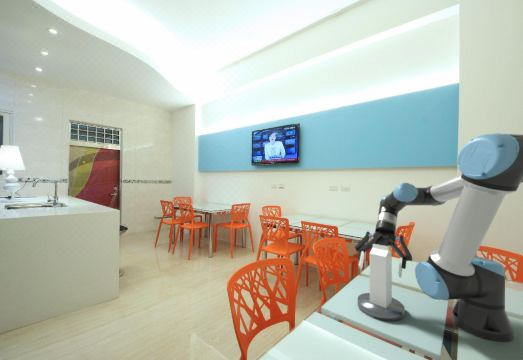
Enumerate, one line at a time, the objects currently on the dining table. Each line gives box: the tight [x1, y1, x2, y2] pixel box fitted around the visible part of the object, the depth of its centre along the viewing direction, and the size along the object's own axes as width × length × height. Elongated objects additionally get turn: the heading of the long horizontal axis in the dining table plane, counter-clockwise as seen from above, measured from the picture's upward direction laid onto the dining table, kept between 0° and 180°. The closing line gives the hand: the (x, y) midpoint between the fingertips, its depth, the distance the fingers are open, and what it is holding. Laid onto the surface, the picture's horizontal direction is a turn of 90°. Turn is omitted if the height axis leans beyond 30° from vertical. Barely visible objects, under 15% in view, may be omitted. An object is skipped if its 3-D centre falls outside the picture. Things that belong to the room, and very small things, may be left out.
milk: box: [369, 244, 393, 308], centre depth 90 cm, size 6×6×22 cm
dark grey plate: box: [357, 292, 406, 322], centre depth 90 cm, size 16×16×2 cm
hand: (379, 271), depth 89 cm, fingers open, 13 cm apart
